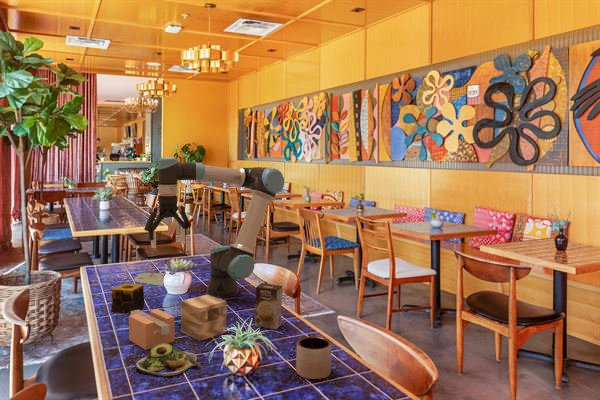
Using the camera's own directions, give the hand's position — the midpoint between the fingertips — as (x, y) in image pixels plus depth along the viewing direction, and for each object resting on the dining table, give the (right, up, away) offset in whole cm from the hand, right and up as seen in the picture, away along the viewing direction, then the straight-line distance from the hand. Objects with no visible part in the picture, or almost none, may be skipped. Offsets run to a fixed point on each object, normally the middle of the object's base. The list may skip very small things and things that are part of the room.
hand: (168, 245), depth 192 cm
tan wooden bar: (+1, -26, -26) cm, 37 cm away
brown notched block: (+18, -31, -18) cm, 40 cm away
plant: (-23, -24, +55) cm, 64 cm away
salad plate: (+12, -34, -45) cm, 57 cm away
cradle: (+2, -31, -27) cm, 41 cm away
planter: (+59, -35, -49) cm, 84 cm away
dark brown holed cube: (-19, -28, +6) cm, 35 cm away
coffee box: (+42, -31, -10) cm, 53 cm away
